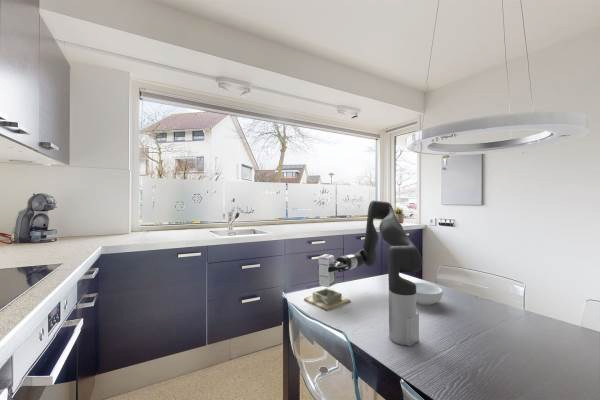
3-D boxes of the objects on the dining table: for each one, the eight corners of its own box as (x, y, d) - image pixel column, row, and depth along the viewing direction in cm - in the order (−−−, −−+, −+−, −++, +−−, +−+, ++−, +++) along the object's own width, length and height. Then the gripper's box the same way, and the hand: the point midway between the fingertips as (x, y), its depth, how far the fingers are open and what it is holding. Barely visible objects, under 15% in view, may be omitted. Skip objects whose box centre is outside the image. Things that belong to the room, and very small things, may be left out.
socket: (350, 301, 129) (350, 293, 129) (326, 310, 119) (326, 302, 119) (327, 292, 141) (327, 285, 141) (304, 300, 132) (304, 292, 132)
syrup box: (329, 287, 126) (328, 257, 126) (318, 285, 130) (318, 255, 130) (335, 284, 131) (334, 255, 130) (325, 282, 134) (324, 253, 134)
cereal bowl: (451, 307, 122) (451, 291, 122) (419, 311, 118) (419, 295, 118) (425, 294, 138) (425, 280, 138) (397, 297, 134) (397, 283, 134)
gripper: (336, 253, 144) (313, 258, 134) (357, 258, 133) (333, 263, 123) (336, 267, 145) (313, 272, 134) (357, 272, 133) (334, 279, 123)
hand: (323, 268), depth 129 cm, fingers closed on syrup box, 6 cm apart
